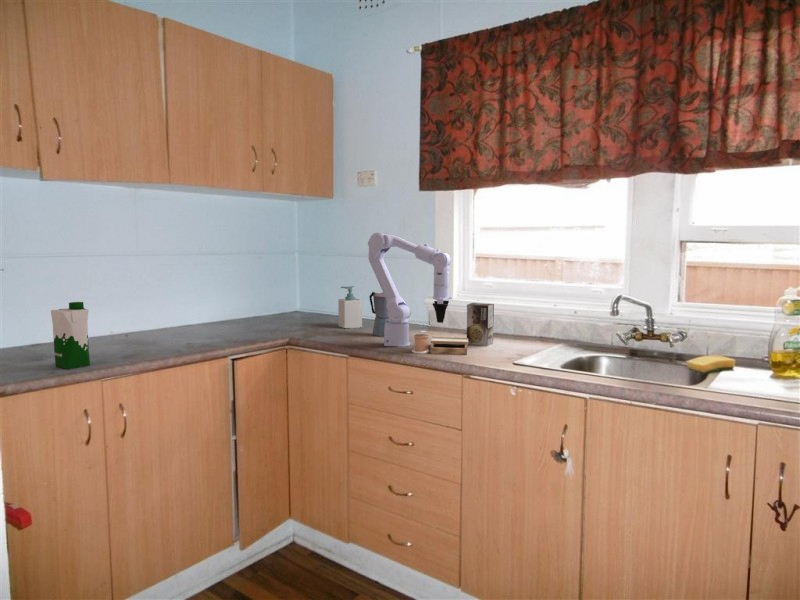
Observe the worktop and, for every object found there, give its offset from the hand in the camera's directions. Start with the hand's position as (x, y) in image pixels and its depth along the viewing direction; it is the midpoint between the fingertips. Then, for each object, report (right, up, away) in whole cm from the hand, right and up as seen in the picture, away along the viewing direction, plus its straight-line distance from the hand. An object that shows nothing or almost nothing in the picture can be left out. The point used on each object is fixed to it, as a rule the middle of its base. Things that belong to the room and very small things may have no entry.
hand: (440, 321), depth 205 cm
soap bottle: (-39, -5, +50) cm, 63 cm away
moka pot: (-23, -7, +29) cm, 38 cm away
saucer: (-8, -11, -7) cm, 15 cm away
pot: (-8, -10, -7) cm, 15 cm away
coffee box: (+16, -10, +9) cm, 21 cm away
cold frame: (+3, -11, -3) cm, 12 cm away
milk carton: (-119, -13, -32) cm, 124 cm away
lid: (+3, -8, +1) cm, 9 cm away
